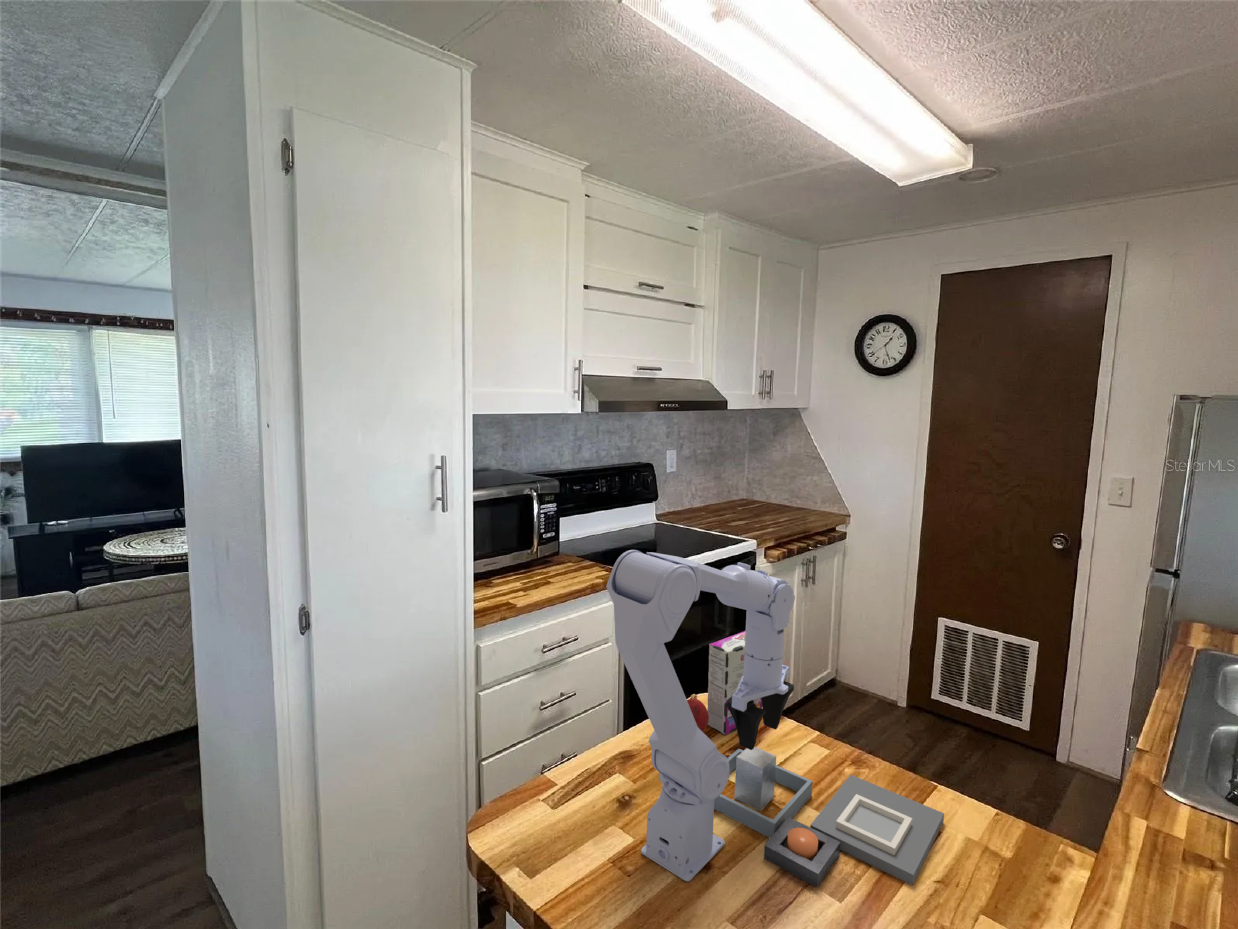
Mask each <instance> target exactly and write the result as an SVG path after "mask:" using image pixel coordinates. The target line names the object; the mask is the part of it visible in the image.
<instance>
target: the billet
mask: <svg viewBox="0 0 1238 929" xmlns="http://www.w3.org/2000/svg"><path fill="white" fill-rule="evenodd" d="M776 765H777V755H776V754H773V753H770V752H768V751H766V750H764V749H762V748H760V747H757V746H755V747H754V749H752V750H750V749H747V748H745V749H744V750H743V752H742V753H740V754H739V755H738V756H737V757H736V769H735V775H734V776H735V780H734V797H733V799H735V800H737V801H738V802H740V803H743V804H745V805H747V806H749V807H751V808H753V809H755V810H756V811H759V812H762V811H763V809H764V808H765V807H766V806H767V805H768V804H769V803H770V802H771V801H772V800H773V799H774V798H775V784H776V782H775V770H776Z"/></svg>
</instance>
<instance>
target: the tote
mask: <svg viewBox="0 0 1238 929" xmlns="http://www.w3.org/2000/svg"><path fill="white" fill-rule="evenodd" d="M743 751H744V750H743V749H740V748H738V749H736V750H735V751H734V752H733V753H732V754H730V755H729V756H727V759H728V761H729V775H730V774H731V773H733V772H734V771H736V757H737V756H738V755H739V754H740V753H742V752H743ZM775 783H777V784H780V785H782V786H784V787H786V788H788V789H791V790H793V791H795V792H796V793H795V794H794V795H793V797H792V798H791V799H789V801H788V802H787V803H786V804H785V805H784V807H783V808H781V810H780V811H779V812H778V813H777V814H776V815H775V816H774V818H770V817H768V816H766V815H763V814H761V813H760V812H758V811H757V810H753V809H752V808H750V807H747V806H746V805H744V804H742V803H741V802H739V801H736V800H734V799H732V798H730V797H728V796H726V795H724V794H722V793H721V794H720V795H719V796H718V797H717V798H715V801H714V811H717V812H719V813H720V814H723V815H725V816H726V817H728V818H730V819H732V820H734V821H736V822H738V823H740V824H741V825H744V826H745V827H748V828H750V829H752V830H754V831H756V832H757V833H760V834H761V835H763V836H765V837H768V838H769V839H770V838H771V837H772V836H773V835H774V833H775V832H776V831H777V830H778V829H779V828H780V827H781V825H782V824H783V823H784V822H785V821H786V820H787V818H788V817H790V818H792V819H794V817H795V816H796V814H798V812H799V811H800V810H801V809H802V807H804V806H805V804H806V803H807V802H808V801H809V800H810V798H811V797H812V795H813V794H812V793H813V780H811V779H809V778H807V777H804V776H802V775H800V774H798V773H795V772H793V771H791V770H788V769H786V768H784V767H782V766H779V765H777V764H776V770H775Z"/></svg>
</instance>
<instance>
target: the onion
mask: <svg viewBox="0 0 1238 929" xmlns="http://www.w3.org/2000/svg"><path fill="white" fill-rule="evenodd" d="M686 700H687V702H688V704H689V707H690V709H691V712H692V714H693V717H694V719H695V722H696V724H697V727H698V728H699V729H700V730H701V731H702V732H703V733H704V731H705V730H706V728H707V726H708V722H709V715H708V711H707V707H706V705H705V704H704V703H703V702H702V701H701V700H699V699H698V695H696V694H695V693H693V694H691V695H690V698H689V699H686Z"/></svg>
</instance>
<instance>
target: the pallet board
mask: <svg viewBox="0 0 1238 929" xmlns="http://www.w3.org/2000/svg"><path fill="white" fill-rule="evenodd" d="M944 820H945V813H944V812H942V811H940V810H937V809H935V808H933V807H930V806H927V805H925V804H922V803H920V802H918V801H916V800H913V799H910V798H908V797H906V796H904V795H901V794H898V793H897V792H894V791H892V790H889V789H886V788H884V787H881V786H880V785H877V784H874V783H873V782H870V781H868V780H866V779H862V778H860V777H858V776H856V775H852V774H850V775H849V776H848V777H847V778H846V780H845V781H844V782H843V784H842V785H841V786H840V787H839V789H837V791H836V792H835V794H834V795H833V796H832V797H831V798H830V800H829V801H828V802H827V803H826V805H825V806H824V807H823V808H822V810H821V811H820V812H819V814H818V815H817V816H816V817H815V819H814V820H813V821H812V822H811V823H810V825H809V827H810V828H812V829H814V830H816V831H818V832H821V833H823V834H825V835H827V836H829V837H831V838H833V839H835V840H837V841H839V842H840V851H843V852H844V853H846V854H848V855H851V856H852V857H854V858H856V859H859V860H860V861H862V862H865V863H866V864H868V865H870V866H873V867H875V868H877V869H878V870H881V871H882V872H885V873H886V874H888V875H891V876H892V877H895V878H897V879H898V880H900V881H902V882H905V883H907V884H909V885H911V886H913V885H914V884H915V882H916V880H917V877H918V875H919V873H920V871H921V869H922V867H923V865H924V862H925V861H926V859H927V857H928V855H929V853H930V851H931V848H932V846H933V845H934V843H935V841H936V839H937V836H938V834H939V832H940V830H941V829H942V827H943V824H944Z"/></svg>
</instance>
